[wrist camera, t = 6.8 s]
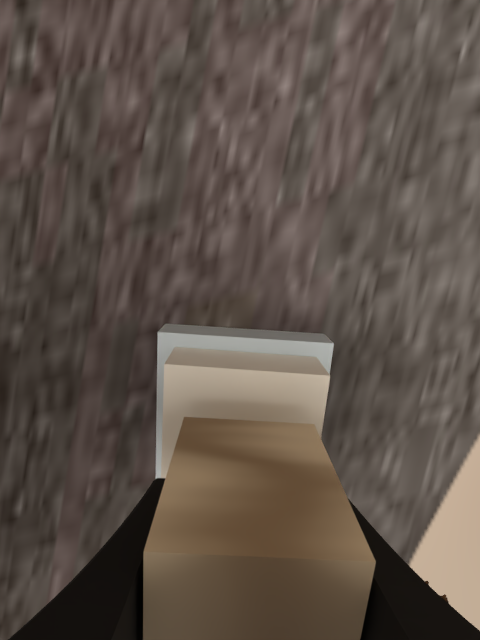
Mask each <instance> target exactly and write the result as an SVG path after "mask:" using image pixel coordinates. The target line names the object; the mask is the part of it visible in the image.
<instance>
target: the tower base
mask: <svg viewBox="0 0 480 640" xmlns="http://www.w3.org/2000/svg"><path fill="white" fill-rule="evenodd" d="M174 347H184V348H198V349H212V350H226V351H239V352H253V353H267V354H281V355H295V356H309V357H317V358H318V360H319V361H320V362H321V364H322V365H323V366H324V368H325V369H326V370H327V372H328V373H329V375H330V368H331V361H332V354H333V347H334V343H333V342H332V341H331V340H330V339H329V338H328V337H327V336H326V335H325V334H320V333H304V332H289V331H273V330H258V329H242V328H227V327H211V326H196V325H180V324H165V325H164V326H163V327H162V328H161V329H160V330H159V331H158V346H157V417H156V479H157V478H161V457H162V422H163V388H164V364H165V362H166V360H167V359H168V357H169V355H170V354H171V352H172V351H173V349H174Z"/></svg>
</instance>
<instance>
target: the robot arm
mask: <svg viewBox="0 0 480 640" xmlns="http://www.w3.org/2000/svg"><path fill="white" fill-rule="evenodd" d="M165 479H166V478H157V479H155V480H154V481H153V483H152V484H151V486H150V487H149V489H148V490H147V492H146V493H145V494H144V496H143V497H142V499H141V500H140V501H139V503H138V504H137V505H136V507H135V508H134V509H133V511H132V512H131V513H130V515H129V516H128V517H127V518H126V520H125V521H124V522H123V523H122V525H121V526H120V527H119V528H118V530H117V531H116V532H115V533H114V535H113V536H112V537H111V538H110V539H109V540H108V542H107V543H106V544H105V545H104V546H103V547H102V548H101V549H100V551H99V552H98V553H97V554H96V555H95V556H94V557H93V559H92V560H91V561H90V562H89V563H88V564H87V565H86V566H85V567H84V568H83V569H82V570H81V571H80V573H79V574H78V575H77V576H76V577H75V578H74V579H73V580H72V581H71V582H70V583H69V584H68V585H67V586H66V587H65V588H64V589H63V590H62V591H61V592H60V593H59V594H58V595H57V596H56V597H55V598H54V599H53V600H52V601H50V602H49V603H48V604H47V605H46V606H45V607H44V608H43V609H42V610H41V611H40V612H39V613H37V614H36V615H35V616H34V617H33V618H32V619H31V620H30V621H29V622H28V623H27V624H26V625H24V626H23V627H22V628H21V629H20V630H19V631H18V632H16V633H15V634H14V635H13V636H12V637H11V638H10V639H8V640H143V553H144V548H145V545H146V542H147V538H148V535H149V532H150V529H151V525H152V522H153V519H154V515H155V512H156V509H157V505H158V502H159V499H160V495H161V492H162V489H163V485H164V482H165ZM348 501H349V503H350V505H351V507H352V510H353V512H354V514H355V516H356V519H357V521H358V523H359V525H360V527H361V530H362V532H363V534H364V536H365V539H366V541H367V543H368V545H369V547H370V550H371V552H372V554H373V556H374V559H375V561H376V564H375V569H374V574H373V579H372V584H371V589H370V594H369V599H368V603H367V608H366V613H365V618H364V623H363V628H362V633H361V638H360V640H480V631H479V630H478V629H477V628H475V627H474V626H473V625H472V624H471V623H469V622H468V621H467V620H466V619H465V618H464V617H462V616H461V615H460V614H459V613H458V612H457V611H456V610H455V609H454V608H453V607H451V606H450V605H449V604H448V603H447V602H446V601H445V600H444V599H443V598H442V597H440V596H439V595H438V594H437V593H436V592H435V591H434V590H433V589H432V588H430V586H429V585H428V584H427V583H425V582H424V581H423V580H422V579H421V578H420V577H419V576H418V575H417V574H416V573H415V572H414V571H413V570H412V569H411V568H410V567H409V566H408V565H407V564H406V563H405V562H404V560H403V559H402V558H401V557H400V556H399V555H398V554H397V553H396V552H395V551H394V550H393V549H392V548H391V547H390V546H389V545H388V544H387V542H386V541H385V540H384V539H383V538H382V537H381V536H380V535H379V534H378V533H377V531H376V530H375V529H374V528H373V527H372V526H371V525H370V524H369V522H368V521H367V520H366V519H365V518H364V517H363V515H362V514H361V513H360V512H359V511H358V510H357V508H356V507H355V506H354V505H353V504H352V503H351V501H350V500H349V499H348Z"/></svg>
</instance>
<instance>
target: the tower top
mask: <svg viewBox="0 0 480 640" xmlns="http://www.w3.org/2000/svg"><path fill="white" fill-rule="evenodd" d="M329 381H330V375H329V373H328V372H327V370H326V369H325V368H324V366H323V365H322V364H321V362H320V361H319V360H318V358H317V357H309V356H295V355H281V354H267V353H253V352H239V351H226V350H212V349H198V348H184V347H174V349H173V351H172V352H171V354H170V355H169V357H168V359H167V360H166V362H165V364H164V388H163V422H162V457H161V478H166V475H167V472H168V469H169V465H170V462H171V459H172V455H173V452H174V449H175V445H176V442H177V439H178V435H179V432H180V429H181V425H182V422H183V419H184V417H197V418H215V419H233V420H251V421H268V422H286V423H304V424H314V425H315V427H316V429H317V432H318V434H319V436H320V438H321V435H322V428H323V421H324V415H325V408H326V401H327V395H328V388H329Z"/></svg>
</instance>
